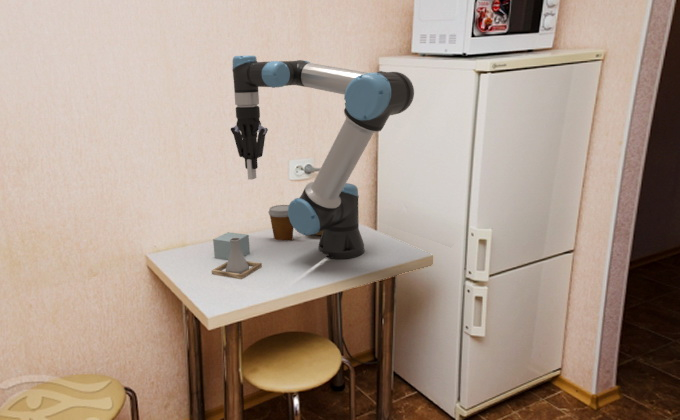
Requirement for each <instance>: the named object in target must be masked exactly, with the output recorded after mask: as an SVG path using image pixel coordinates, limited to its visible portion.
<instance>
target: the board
mask: <svg viewBox="0 0 680 420" xmlns="http://www.w3.org/2000/svg"><path fill="white" fill-rule="evenodd" d="M246 262H247V264H248V266H249V269H248V270H247V271H245V272H243V273H242V274H237V273H231V272H226V267H227V263H228V261H227V262H225V263H223V264H221V265H219V266H217V267H216V268H213V269H211V275H215V276H220V277H226V278H231V279H232V278H233V279H239V280H242V279H245V278H246V277H248V276H249V275H251V274H253V273H254V272H256V271H258V270H259V269H261V268H262V266H263V265H262V262H255V261H251V260H250V261H249V260H246ZM224 269H225V270H224Z"/></svg>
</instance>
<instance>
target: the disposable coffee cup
mask: <svg viewBox="0 0 680 420" xmlns="http://www.w3.org/2000/svg"><path fill="white" fill-rule="evenodd" d="M288 207H289V204H276V205H273V206H271V207H269V209H268V210H269V211H268V212H267V213H268V216H269V218H270V224H271V229H272V234H273V239H275V240H277V241H291V242H292V241H293V237H294V227H293V226H292V224H291V223H290V219H289V217H288Z"/></svg>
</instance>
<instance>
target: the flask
mask: <svg viewBox="0 0 680 420" xmlns="http://www.w3.org/2000/svg"><path fill="white" fill-rule="evenodd" d="M230 242H231V252H230V256H229V260H227V262H228V263H227V267H226V268H225V272H231V273H237V274H242V273H243V272H245V271H247V270H248V269H250V266H248V264H247V262H246V261H247V259H246V258H245V256H244V255H243V253H242V251H241V247H240V238H238V237H235V238H231V239H230Z"/></svg>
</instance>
